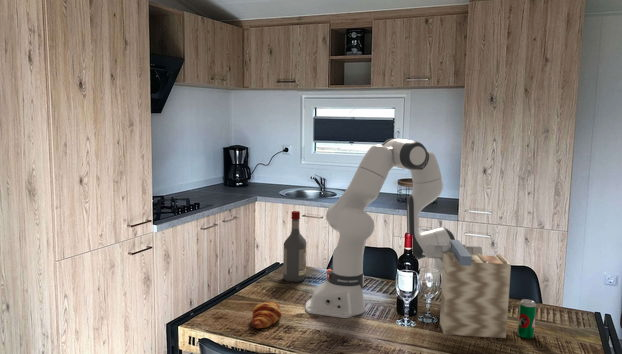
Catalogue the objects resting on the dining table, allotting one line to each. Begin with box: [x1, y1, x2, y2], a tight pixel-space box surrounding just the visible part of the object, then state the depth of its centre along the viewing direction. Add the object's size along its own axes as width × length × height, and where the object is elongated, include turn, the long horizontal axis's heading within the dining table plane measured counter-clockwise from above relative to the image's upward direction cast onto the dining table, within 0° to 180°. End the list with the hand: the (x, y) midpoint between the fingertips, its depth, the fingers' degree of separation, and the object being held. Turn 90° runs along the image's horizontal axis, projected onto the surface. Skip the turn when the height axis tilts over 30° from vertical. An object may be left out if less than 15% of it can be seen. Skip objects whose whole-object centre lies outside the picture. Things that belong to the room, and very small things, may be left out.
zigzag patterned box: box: [439, 252, 512, 339], centre depth 169 cm, size 20×9×26 cm, turn 84°
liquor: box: [282, 210, 307, 283], centre depth 219 cm, size 9×9×30 cm
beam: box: [449, 239, 472, 266], centre depth 170 cm, size 3×22×3 cm, turn 174°
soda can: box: [517, 298, 537, 340], centre depth 166 cm, size 5×5×12 cm
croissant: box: [251, 301, 282, 329], centre depth 175 cm, size 21×10×8 cm, turn 166°
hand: (456, 246), depth 175 cm, fingers open, 3 cm apart
